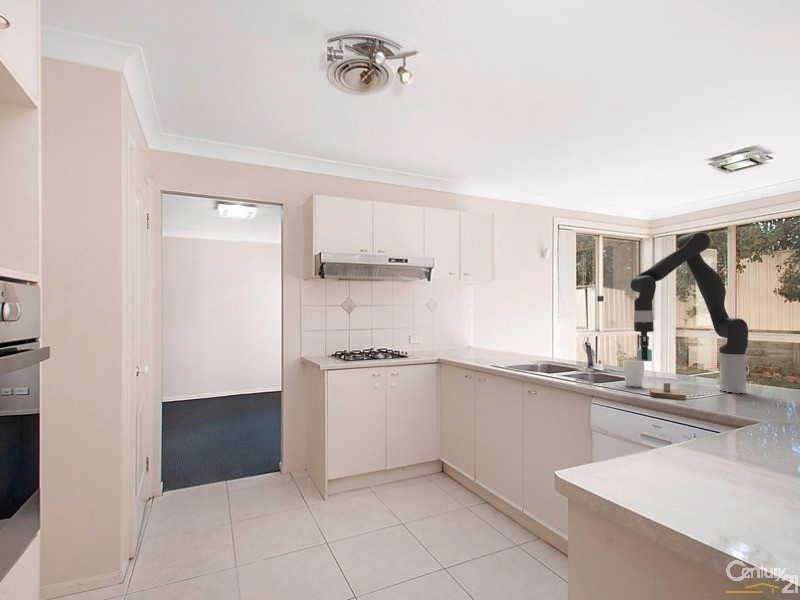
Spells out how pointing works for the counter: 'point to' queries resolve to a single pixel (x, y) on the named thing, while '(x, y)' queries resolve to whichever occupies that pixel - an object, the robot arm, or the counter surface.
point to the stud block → (667, 393)
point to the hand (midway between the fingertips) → (644, 358)
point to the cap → (639, 355)
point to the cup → (633, 372)
